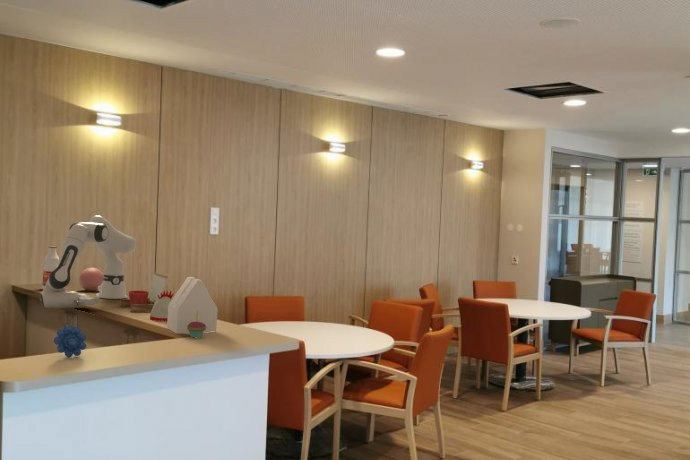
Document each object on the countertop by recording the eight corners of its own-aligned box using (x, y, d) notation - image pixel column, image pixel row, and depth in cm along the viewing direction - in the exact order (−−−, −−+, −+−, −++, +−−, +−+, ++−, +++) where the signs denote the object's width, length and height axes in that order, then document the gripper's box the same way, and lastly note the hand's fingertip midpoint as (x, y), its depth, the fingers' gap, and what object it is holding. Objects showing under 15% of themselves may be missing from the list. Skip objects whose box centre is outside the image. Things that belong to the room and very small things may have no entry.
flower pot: (135, 310, 374) (136, 293, 374) (123, 308, 381) (125, 290, 381) (151, 309, 382) (152, 292, 382) (140, 307, 389) (141, 290, 389)
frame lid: (154, 272, 396) (155, 272, 396) (148, 297, 395) (149, 298, 395) (165, 276, 378) (167, 276, 379) (159, 302, 377) (161, 303, 378)
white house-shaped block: (176, 333, 314) (179, 279, 314) (167, 328, 327) (170, 276, 327) (216, 332, 324) (219, 280, 323) (205, 327, 337) (208, 277, 337)
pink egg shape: (113, 292, 446) (114, 269, 446) (81, 292, 435) (82, 268, 435) (106, 289, 459) (108, 266, 459) (75, 289, 448) (77, 266, 448)
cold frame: (120, 306, 387) (120, 298, 387) (148, 305, 396) (149, 298, 396) (131, 312, 368) (131, 303, 368) (160, 311, 377) (161, 303, 377)
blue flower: (55, 360, 244) (57, 327, 244) (51, 356, 250) (53, 324, 249) (88, 358, 251) (90, 326, 251) (83, 354, 256) (85, 323, 256)
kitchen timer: (180, 321, 350) (182, 292, 350) (154, 321, 343) (156, 292, 343) (173, 316, 362) (174, 288, 362) (147, 317, 355) (148, 288, 355)
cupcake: (185, 335, 310) (186, 309, 310) (203, 335, 314) (205, 309, 314) (188, 339, 302) (190, 312, 302) (207, 338, 306) (209, 312, 306)
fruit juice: (60, 289, 440) (63, 246, 440) (46, 290, 433) (49, 246, 433) (53, 288, 446) (56, 245, 446) (39, 288, 439) (42, 245, 439)
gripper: (77, 296, 354) (104, 296, 362) (69, 291, 371) (95, 291, 379) (76, 308, 354) (103, 308, 362) (68, 303, 371) (94, 302, 379)
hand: (99, 299), depth 370 cm, fingers closed
